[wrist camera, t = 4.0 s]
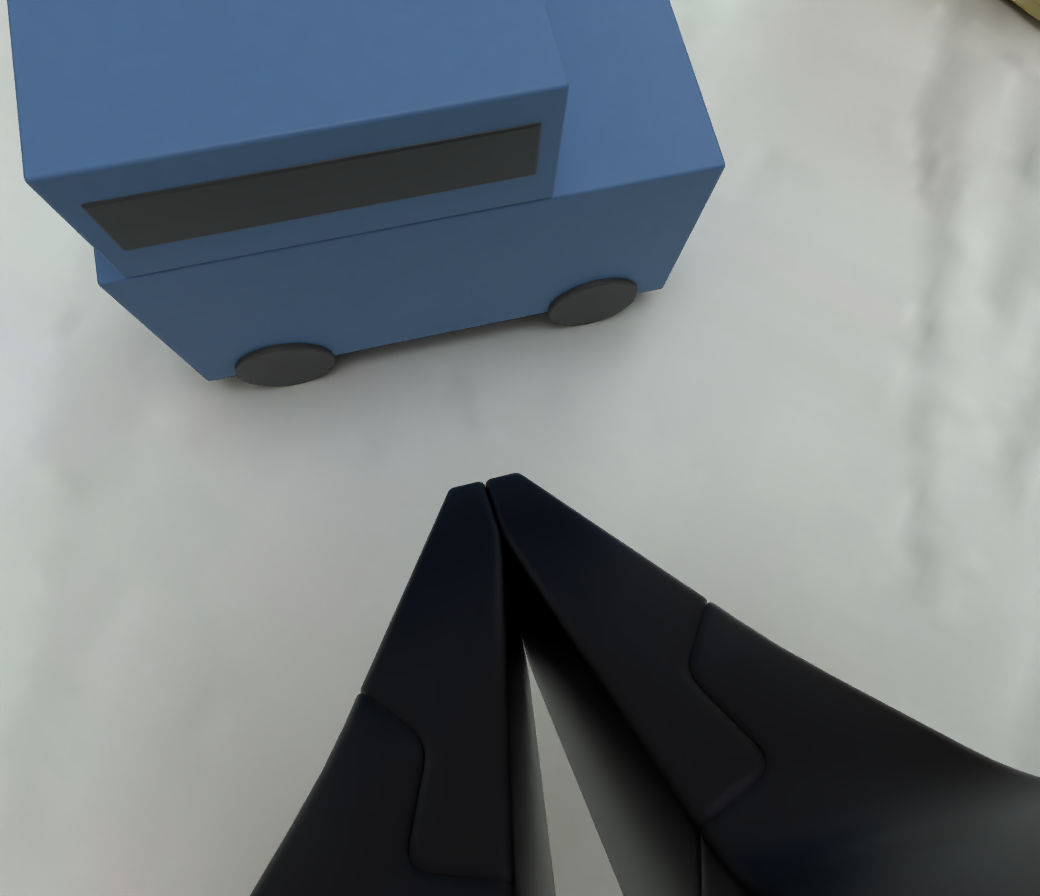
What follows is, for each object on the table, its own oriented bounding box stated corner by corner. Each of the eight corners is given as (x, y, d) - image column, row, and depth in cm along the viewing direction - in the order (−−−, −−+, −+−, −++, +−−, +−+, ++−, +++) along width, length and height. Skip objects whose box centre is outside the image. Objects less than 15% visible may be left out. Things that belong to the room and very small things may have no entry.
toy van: (656, 310, 20) (791, 55, 11) (223, 399, 19) (-15, 197, 10) (605, 141, 22) (690, -211, 13) (194, 217, 21) (-40, -110, 11)
